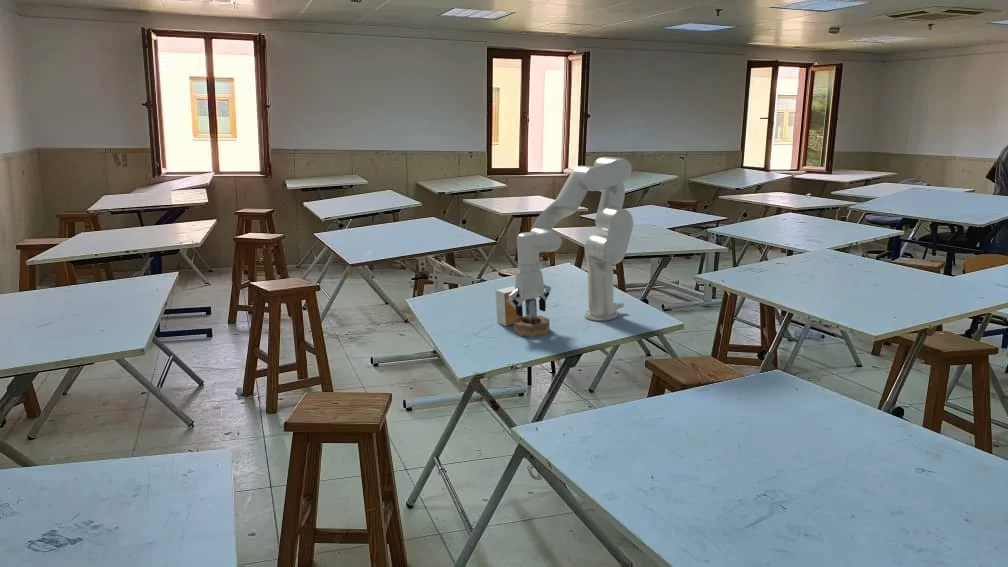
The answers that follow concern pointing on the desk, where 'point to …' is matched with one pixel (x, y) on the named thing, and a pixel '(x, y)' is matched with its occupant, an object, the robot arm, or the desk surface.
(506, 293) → the small box
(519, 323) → the brown octagonal ring
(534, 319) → the peg
